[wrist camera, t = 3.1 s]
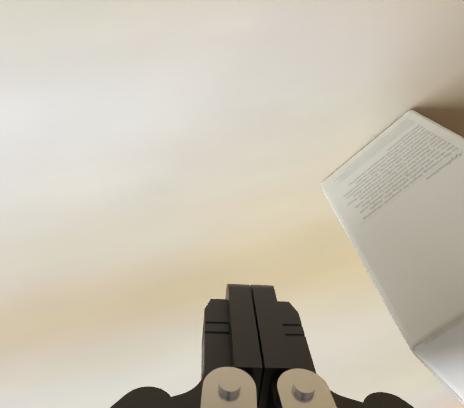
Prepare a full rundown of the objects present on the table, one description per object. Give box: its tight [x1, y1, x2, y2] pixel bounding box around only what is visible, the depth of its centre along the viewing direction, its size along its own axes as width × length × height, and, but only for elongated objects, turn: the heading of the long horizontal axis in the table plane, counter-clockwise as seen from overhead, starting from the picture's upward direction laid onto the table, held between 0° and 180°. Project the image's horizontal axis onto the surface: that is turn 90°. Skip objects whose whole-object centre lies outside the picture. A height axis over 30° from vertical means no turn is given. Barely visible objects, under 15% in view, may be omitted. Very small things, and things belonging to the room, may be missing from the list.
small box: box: [320, 110, 464, 405], centre depth 18 cm, size 8×6×13 cm
